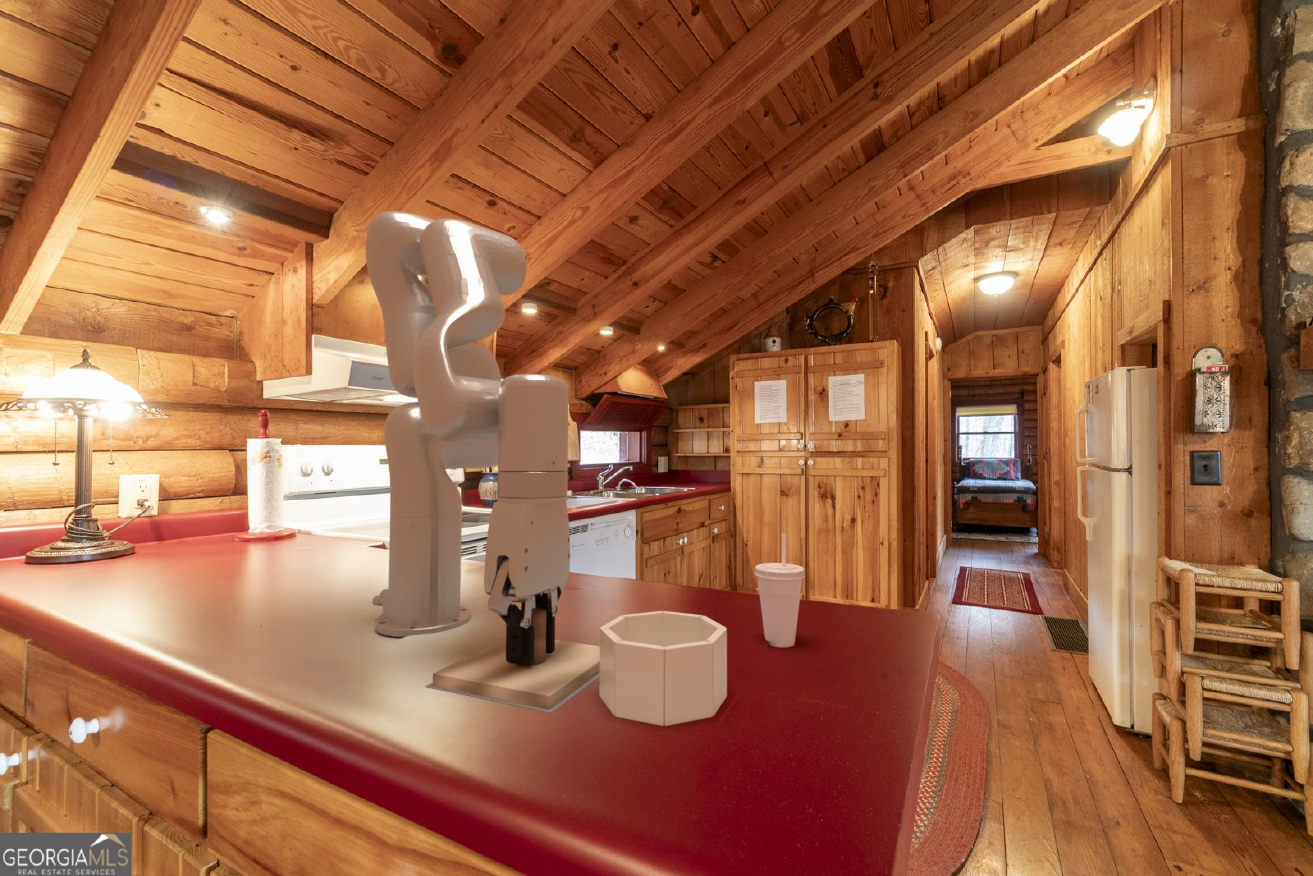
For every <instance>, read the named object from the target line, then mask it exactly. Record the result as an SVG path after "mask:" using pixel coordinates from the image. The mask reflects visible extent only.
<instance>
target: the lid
mask: <svg viewBox="0 0 1313 876" xmlns="http://www.w3.org/2000/svg"><path fill="white" fill-rule="evenodd" d="M530 626H534V663H533V664H532V665H530V666H525V665H519V664H514V663H508V662H507V661H506V638H505V639H504V640H502V641H499V642H497V643H495V644H493V645H491V646H489V647H487V648H484V649H482V650H480V651H478V652H475V653H474V654H471V655H469V656H467V657H465V658H463V659H460V660H459V661H457V662H454V663H452V664H450V665H448V666H446V667H444V668H441V669H440V670H437V671H435V672H433V673H432V683H433V685H432V686H437V687H442V688H447V689H452V690H457V691H462V692H467V693H472V694H476V695H481V696H486V697H491V698H496V699H501V700H506V701H511V702H516V703H520V704H525V705H530V706H535V707H540V708H545V709H551V708H552V707H554V706H555V705H556V704H558V703H559V702H560V701H562V700H563V699H564V698H566V697H567V696H568V695H570V694H571V693H573V692H574V691H575V690H577V689H578V688H579V687H581V686H582V685H583V684H585V683H586V682H587V681H589V680H590V679H591V678H593V677H594V676H595V675H597V674H598V673H600V645H592V644H587V643H586V644H585V643H581V642H573V641H566V640H561V639H559V640H558V639H555V650H554V652H552V653H551V654H548V653H546V610H544V609H540V608H532V612H531V623H530Z"/></svg>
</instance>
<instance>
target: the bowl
mask: <svg viewBox="0 0 1313 876" xmlns="http://www.w3.org/2000/svg"><path fill="white" fill-rule="evenodd" d="M727 631H728V628H727V627H726V626H724V625H722V624H720V623H718V622H717V621H715V620H713V619H711V618H710V617H708V616H706V615H702V614H693V613H687V612H686V613H684V612H676V611H675V612H674V611H670V610H669V611H666V610H657V611H649V612H641V613H639V612H638V613H631V614H622V615H619V616H617V617H616V618H614V619H612V620H611V621H609V622H607V623H605V624H604V625H602V626H600V627H599V646H600V677H599V694H598V695H599V697H600V699H601V700H602V701H603V703H604V704H605V705H606V707H607V708H608V709H609V711H610V712H611V713H612V714H613V717H614V716H615V717H616V718H621V719H626V720H632V721H637V722H641V723H647V724H652V725H657V726H661V727H663V726H665V727H666V726H673V725H677V724H683V723H688V722H692V721H693V722H694V721H698V720H703V719H707V718H713V717H714V716H715V715H716V713H717V712H718V710H719V709H720V707H721V705H723V703H724V701H725V700H726V698H727V697H728V689H727V688H728V657H727V656H728V632H727Z"/></svg>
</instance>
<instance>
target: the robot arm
mask: <svg viewBox="0 0 1313 876" xmlns="http://www.w3.org/2000/svg"><path fill="white" fill-rule="evenodd" d="M365 264H366V268H367V273H368V274H367V275H368V276H369V277H368V278H369V280H370V283H371V286H372V289H373V292H374V293H375V296H376V299H377V302H378V303H379V307H380V310H381V313H382V319H383V330H384V338H385V339H384V340H385V347H386V358H387V365H388V366H387V367H388V373H389V377H390V382H391V385H392V387H393V388H394V390H395V391H396V392H397V393H398V394H400V395H402V396H405V397H408V398H412V399H417V401H414V402H408V403H403V404H400V405H398V406H397V407H395V408H394V409H392V410H391V411H390V412H389V414H388V415H387V416H386V419H385V423H384V427H383V430H384V431H383V436H384V445H385V449H386V450H385V451H386V456H387V457H386V458H387V464H388V473H389V474H388V475H389V541H388V542H389V545H388V547H389V551H388V554H389V555H388V588H387V589H386V588H384V589H383V590H381V591H380V592H379V594H378V595H374V597H373V598H372V601H371V603H372V604H373V606H378V607H382V615H381V616H378V618H377V619H375V623H374V630H375V631H376V632H377V633H379V635H384V636H389V637H398V638H406V637H409V636H420V635H428V634H429V635H430V634H435V633H436V634H437V633H441V632H446V631H449V630H454V629H456V628H459V627H462V626H464V625H466V624H468V623H469V622H470V621H471V619H472V611H471V610H470V609H469V608H467V607H464V606H461V588H462V587H461V582H462V581H461V579H462V578H461V577H462V576H461V572H462V531H463V530H462V522H463V518H462V517H463V510H462V509H463V503H462V497H461V493H460V492H459V489H458V487H457V485H456V484H455V483H454V481H453V480H452V478H451V477H450V476H449V474H448V472H447V470H451V469H452V470H453V469H486V468H492V467H496V466H497V495H496V496H497V499H496V501H494V502H493V505H492V508H491V509H492V510H491V511H490V518H489V523H488V527H487V528H488V530H487V536H486V547H485V559H484V572H483V573H484V574H483V575H484V577H483V578H484V579H483V582H484V583H483V585H484V586H483V587H484V592H485V594H486V595H487V596H489V598H488V601H487V605H486V607H487V609H488V610H490V611H491V612H494V613H495V614H498V616H499V617H500V618H501V619H502V620H501V621H502V625H503V626H505V628H506V629H505V639H506V661H507V662H508V663H514V664H519V665H525V666H530V665H532V664H533V663H534V626H530V623H531V612H532V608H540V609H544V610H546V653H548V654H551V653H552V652H554V650H555V640H556V615H557V614H558V611H559V600H560V598H561V595H562V592H563V591H564V589H565V588H566V586H567V585H568V583H569V575H570V570H571V569H570V567H571V541H570V537H571V536H570V522H569V512H568V505H567V501H568V481H569V480H568V473H569V472H568V471H569V470H568V467H569V466H568V465H569V464H568V463H569V462H568V460H569V459H568V457H569V456H568V455H569V389H568V385H567V383H566V382H565V381H564V380H563V379H562V378H560V377H557V376H554V375H548V374H541V373H540V374H538V373H522V374H521V373H520V374H513V375H510V376H506V377H505V378H504V379H503V380H502V377H501V373H500V367H499V365H498V364H499V363H498V362H497V360H496V358H495V356H494V354H493V353H492V351H490V350H489V349H488V348H486V347H485V346H483V345H481V344H477V343H476V342H480V341H481V340H484V339H486V338H489V337H491V336H492V335H493V334H495V333H496V332H497V331H498V330H499V329H501V327H502V325H503V324H504V321H505V318H506V311H505V310H506V309H505V306H504V303H503V301H502V296H512V295H513V294H515V293H517V292H519V290H521V288H522V287H523V285H524V283H525V281H526V277H527V271H528V265H527V258H526V255H525V251H524V250H523V248H522V246H521V244H520V243H519V242H518V241H517V240H516V239H514V238H513V237H511V236H509V235H507V234H505V233H502V232H498V231H496V230H493V229H490V228H486V227H484V226H480V225H477V224H475V223H472V222H468V221H465V220H461V219H456V218H446V217H445V218H438V219H436V220H435V219H432V218H428V217H425V216H422V215H419V214H415V213H410V212H407V211H406V212H405V211H399V210H389V211H382V212H381V213H380V212H379V214H376V215H375V216H374V217H373V218H372V220H371V221H370V223H369V225H368V227H367V232H366V237H365ZM419 276H422V277H425V278H427V282H428V286H429V289H428V287H427V286H426V285H425V284H424V283H423V282H422V280H421V279H420V278H419ZM515 603H521V606H520V608H519V606H517V604H515Z"/></svg>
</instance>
